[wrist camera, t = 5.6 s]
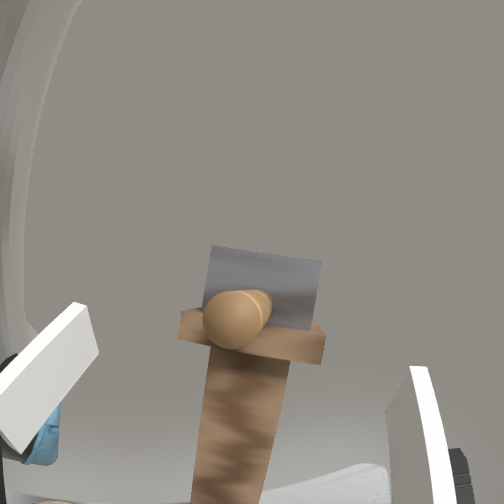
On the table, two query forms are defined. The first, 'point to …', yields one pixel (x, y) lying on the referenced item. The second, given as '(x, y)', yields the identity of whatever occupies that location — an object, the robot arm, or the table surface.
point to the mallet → (256, 294)
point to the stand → (243, 407)
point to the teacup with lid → (51, 502)
